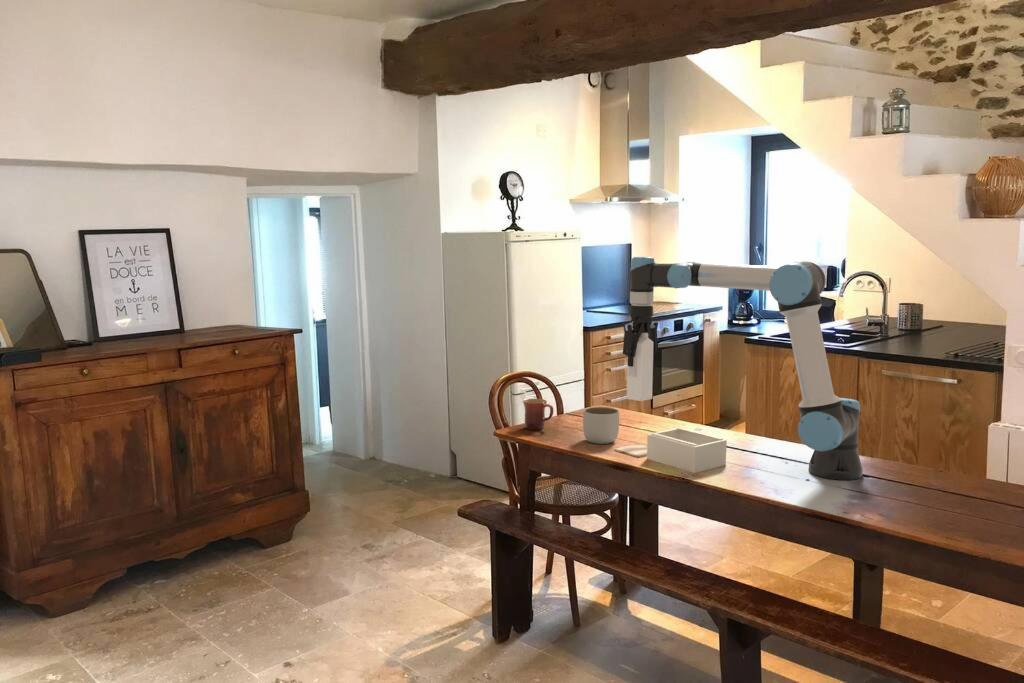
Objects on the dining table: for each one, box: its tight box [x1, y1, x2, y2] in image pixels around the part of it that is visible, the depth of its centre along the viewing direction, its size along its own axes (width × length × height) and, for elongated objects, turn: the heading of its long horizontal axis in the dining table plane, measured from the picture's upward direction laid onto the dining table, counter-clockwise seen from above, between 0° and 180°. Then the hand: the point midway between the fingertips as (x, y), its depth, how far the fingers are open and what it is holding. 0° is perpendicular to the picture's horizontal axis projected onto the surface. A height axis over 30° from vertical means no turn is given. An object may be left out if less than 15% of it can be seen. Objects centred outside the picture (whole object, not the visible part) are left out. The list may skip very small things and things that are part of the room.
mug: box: [522, 398, 554, 431], centre depth 304 cm, size 12×9×10 cm
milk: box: [626, 333, 654, 402], centre depth 270 cm, size 6×6×22 cm
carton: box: [646, 427, 728, 474], centre depth 261 cm, size 20×15×8 cm
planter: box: [582, 406, 620, 445], centre depth 286 cm, size 12×12×11 cm
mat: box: [614, 443, 647, 459], centre depth 274 cm, size 11×11×1 cm
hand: (639, 374), depth 271 cm, fingers closed on milk, 6 cm apart
